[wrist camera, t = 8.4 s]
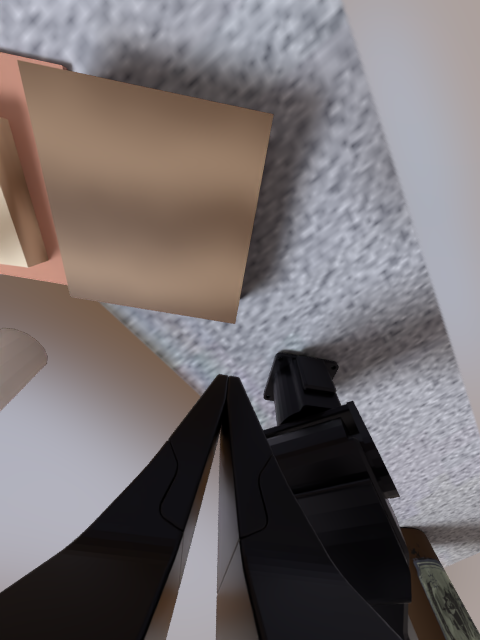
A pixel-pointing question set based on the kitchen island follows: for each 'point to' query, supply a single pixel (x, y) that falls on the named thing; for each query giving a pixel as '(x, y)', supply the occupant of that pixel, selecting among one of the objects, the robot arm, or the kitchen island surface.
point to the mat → (29, 169)
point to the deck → (147, 190)
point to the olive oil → (434, 595)
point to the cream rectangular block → (16, 209)
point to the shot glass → (18, 362)
